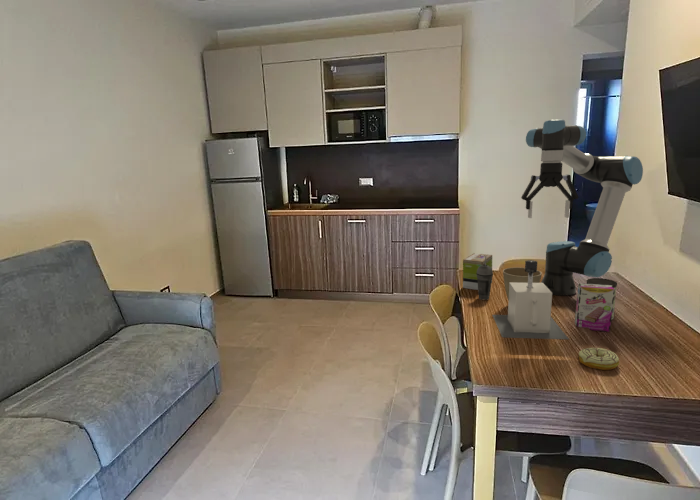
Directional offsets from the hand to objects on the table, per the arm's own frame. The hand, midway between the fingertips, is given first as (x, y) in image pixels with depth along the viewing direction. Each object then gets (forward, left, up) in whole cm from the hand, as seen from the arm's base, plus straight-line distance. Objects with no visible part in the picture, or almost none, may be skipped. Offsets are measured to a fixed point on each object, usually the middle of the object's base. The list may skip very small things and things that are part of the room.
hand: (548, 217), depth 169 cm
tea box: (+21, -35, -39) cm, 56 cm away
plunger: (+10, +19, -37) cm, 43 cm away
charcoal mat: (+10, +19, -39) cm, 44 cm away
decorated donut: (-5, +45, -39) cm, 60 cm away
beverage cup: (+21, -15, -39) cm, 47 cm away
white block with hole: (+10, +20, -38) cm, 44 cm away
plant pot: (+8, -3, -39) cm, 40 cm away
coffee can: (-20, +4, -39) cm, 44 cm away
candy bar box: (-13, +17, -39) cm, 44 cm away
